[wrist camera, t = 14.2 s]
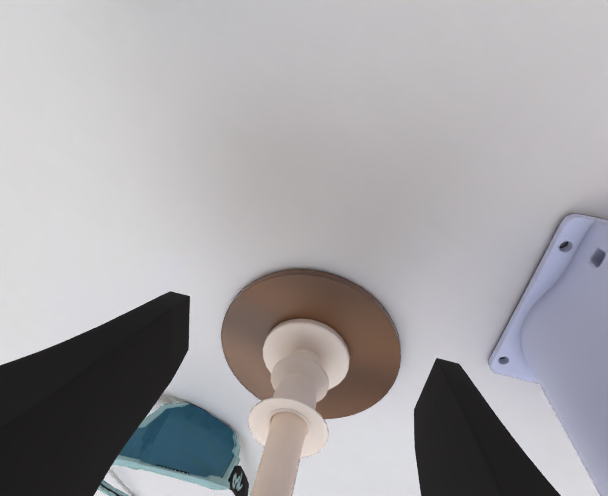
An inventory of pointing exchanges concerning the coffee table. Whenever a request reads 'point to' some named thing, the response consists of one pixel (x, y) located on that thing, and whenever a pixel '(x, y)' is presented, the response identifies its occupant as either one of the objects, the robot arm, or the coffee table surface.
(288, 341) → the candle
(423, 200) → the coffee table surface
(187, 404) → the sunglasses
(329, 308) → the coaster
